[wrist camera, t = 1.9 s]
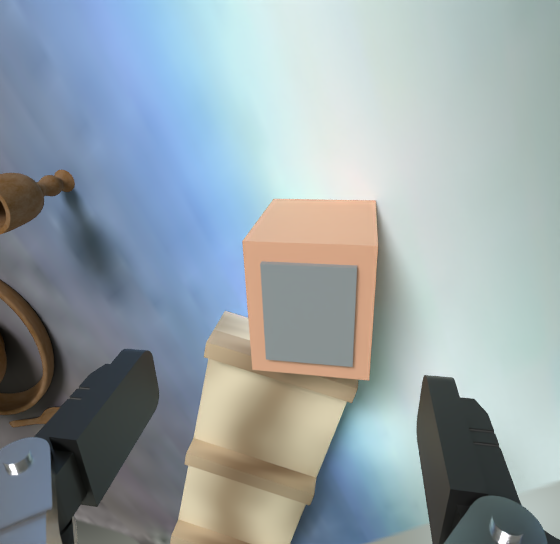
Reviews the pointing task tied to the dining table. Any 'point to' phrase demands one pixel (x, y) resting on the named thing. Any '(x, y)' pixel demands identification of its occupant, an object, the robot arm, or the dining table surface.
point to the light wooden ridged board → (255, 445)
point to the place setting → (5, 217)
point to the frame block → (312, 287)
